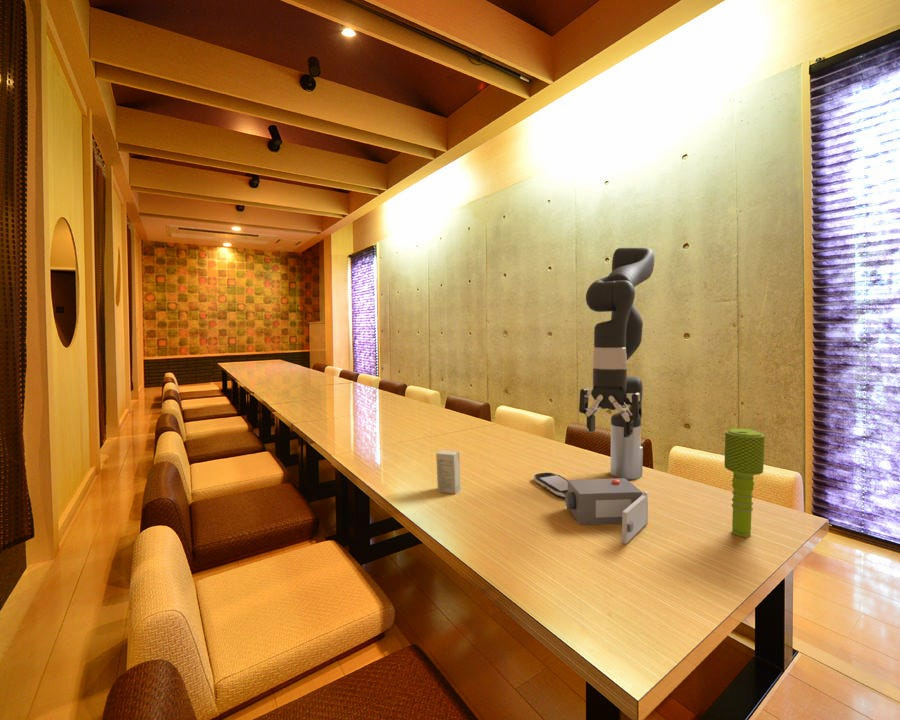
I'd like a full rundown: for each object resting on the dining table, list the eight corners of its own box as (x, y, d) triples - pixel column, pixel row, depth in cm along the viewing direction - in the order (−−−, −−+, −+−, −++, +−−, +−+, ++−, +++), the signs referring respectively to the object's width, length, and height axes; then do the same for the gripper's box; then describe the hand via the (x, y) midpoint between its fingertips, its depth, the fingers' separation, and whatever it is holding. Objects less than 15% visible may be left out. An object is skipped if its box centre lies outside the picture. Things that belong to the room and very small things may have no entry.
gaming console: (529, 481, 140) (529, 473, 140) (552, 477, 143) (552, 469, 143) (563, 503, 122) (563, 494, 122) (589, 498, 125) (589, 489, 125)
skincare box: (461, 489, 132) (460, 451, 131) (455, 494, 128) (454, 455, 127) (442, 486, 135) (441, 449, 134) (436, 491, 131) (435, 452, 130)
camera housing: (561, 508, 117) (561, 477, 117) (624, 506, 118) (625, 475, 117) (573, 525, 107) (574, 491, 107) (642, 523, 108) (643, 489, 107)
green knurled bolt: (762, 544, 96) (766, 435, 95) (722, 536, 100) (725, 432, 99) (759, 529, 103) (762, 428, 101) (722, 522, 107) (725, 425, 105)
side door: (621, 543, 97) (621, 509, 97) (643, 522, 108) (643, 490, 107) (629, 546, 96) (629, 511, 95) (650, 524, 107) (651, 492, 106)
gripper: (574, 366, 102) (573, 432, 104) (634, 369, 93) (633, 442, 94) (588, 364, 108) (587, 427, 109) (646, 366, 98) (645, 435, 99)
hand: (609, 433), depth 101 cm, fingers open, 8 cm apart
